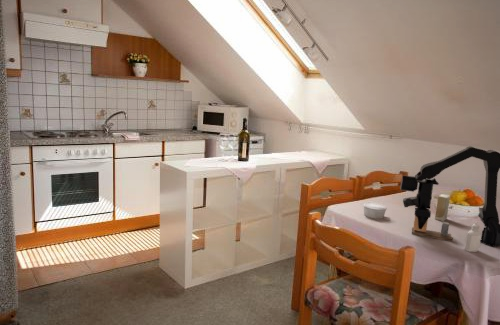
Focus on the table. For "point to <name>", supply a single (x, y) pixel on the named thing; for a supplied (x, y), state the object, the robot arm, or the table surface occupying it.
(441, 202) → the skincare box
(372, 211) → the ramekin
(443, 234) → the near post
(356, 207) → the table surface
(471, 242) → the eye dropper bottle
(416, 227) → the orange block
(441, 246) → the table surface
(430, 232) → the board
